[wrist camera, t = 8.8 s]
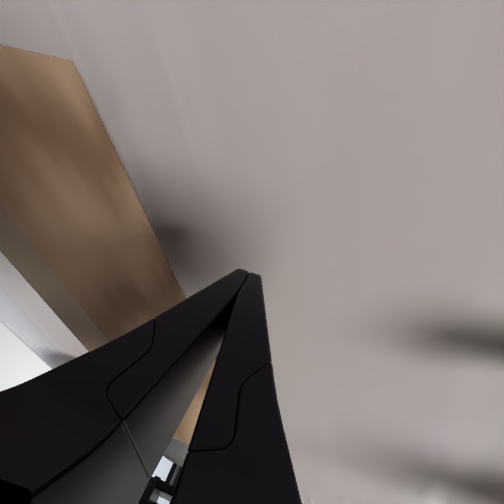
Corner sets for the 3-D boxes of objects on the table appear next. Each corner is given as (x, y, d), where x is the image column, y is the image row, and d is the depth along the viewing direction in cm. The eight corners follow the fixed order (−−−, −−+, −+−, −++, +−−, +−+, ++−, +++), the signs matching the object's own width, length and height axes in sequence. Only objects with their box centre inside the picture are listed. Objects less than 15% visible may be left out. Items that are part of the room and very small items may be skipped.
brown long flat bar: (239, 381, 18) (208, 477, 14) (209, 375, 20) (169, 462, 15) (105, 61, 8) (-197, -14, 4) (57, 85, 10) (-225, 54, 5)
